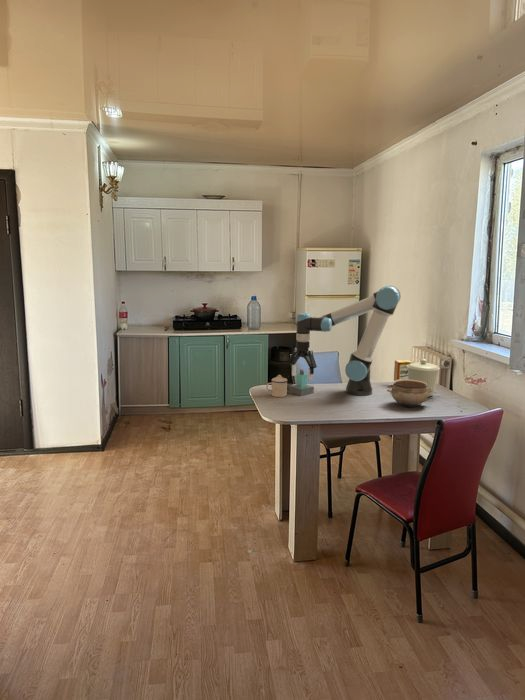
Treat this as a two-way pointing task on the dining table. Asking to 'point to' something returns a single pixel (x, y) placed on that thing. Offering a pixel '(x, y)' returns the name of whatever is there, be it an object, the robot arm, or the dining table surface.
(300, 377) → the aqua plug
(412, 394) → the cooking pot
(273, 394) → the teacup with lid
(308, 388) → the port panel
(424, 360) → the canister
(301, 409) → the dining table surface
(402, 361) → the baking soda box
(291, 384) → the frame
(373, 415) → the dining table surface
